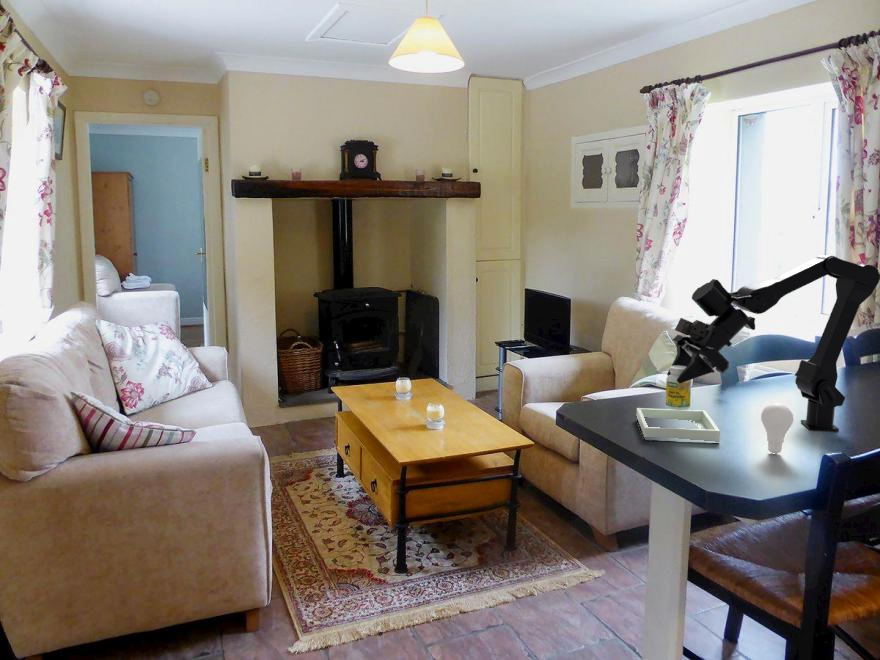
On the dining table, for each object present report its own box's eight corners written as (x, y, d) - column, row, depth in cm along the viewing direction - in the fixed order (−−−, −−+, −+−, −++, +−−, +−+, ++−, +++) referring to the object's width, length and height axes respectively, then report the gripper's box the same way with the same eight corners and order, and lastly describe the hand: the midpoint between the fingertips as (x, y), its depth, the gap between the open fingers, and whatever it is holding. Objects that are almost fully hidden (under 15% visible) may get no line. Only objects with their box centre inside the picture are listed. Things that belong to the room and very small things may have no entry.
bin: (719, 444, 157) (720, 430, 156) (644, 440, 159) (644, 427, 159) (704, 422, 172) (705, 410, 172) (636, 419, 175) (636, 408, 174)
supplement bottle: (691, 405, 166) (693, 365, 164) (687, 411, 161) (689, 370, 160) (667, 403, 168) (669, 363, 167) (663, 409, 164) (665, 368, 162)
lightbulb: (794, 453, 151) (798, 403, 149) (785, 461, 146) (789, 409, 144) (764, 447, 155) (767, 398, 153) (754, 454, 150) (758, 404, 148)
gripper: (682, 300, 170) (635, 347, 171) (717, 312, 152) (665, 364, 153) (712, 332, 172) (666, 378, 173) (751, 347, 154) (699, 398, 155)
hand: (673, 378), depth 164 cm, fingers closed on supplement bottle, 5 cm apart
